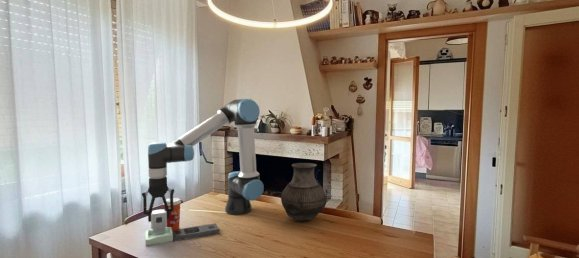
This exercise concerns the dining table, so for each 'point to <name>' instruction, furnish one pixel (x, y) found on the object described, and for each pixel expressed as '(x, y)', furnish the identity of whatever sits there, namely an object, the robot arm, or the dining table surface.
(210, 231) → the rail
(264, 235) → the dining table surface
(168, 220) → the coffee cup
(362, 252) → the dining table surface
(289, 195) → the vase
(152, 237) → the tray
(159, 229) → the white upright box
